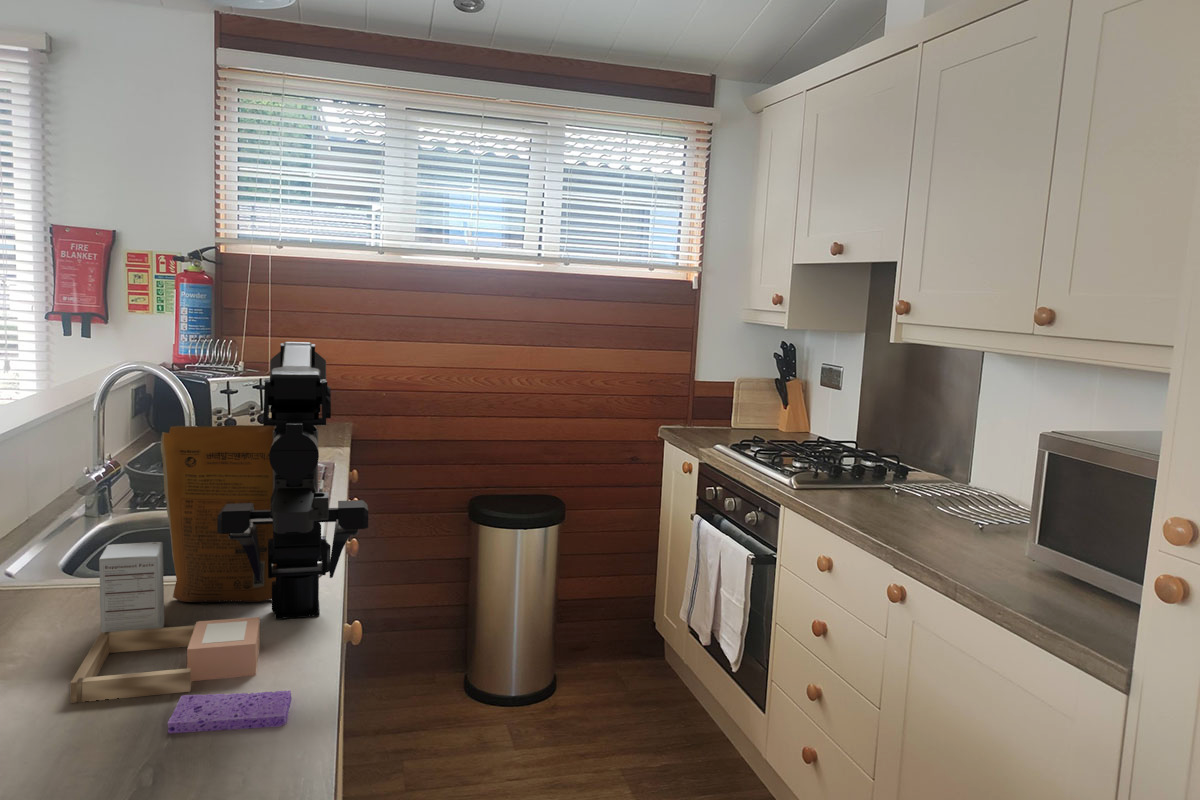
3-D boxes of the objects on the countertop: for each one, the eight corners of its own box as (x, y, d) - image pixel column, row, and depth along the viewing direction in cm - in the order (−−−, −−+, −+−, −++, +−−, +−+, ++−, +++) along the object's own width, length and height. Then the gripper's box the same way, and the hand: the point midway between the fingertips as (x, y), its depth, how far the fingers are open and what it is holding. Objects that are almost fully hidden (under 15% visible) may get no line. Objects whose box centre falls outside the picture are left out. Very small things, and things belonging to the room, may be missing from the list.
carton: (259, 647, 121) (259, 616, 121) (255, 677, 112) (255, 643, 111) (197, 653, 119) (196, 621, 118) (187, 683, 109) (187, 648, 109)
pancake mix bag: (280, 604, 136) (286, 426, 136) (153, 604, 134) (158, 423, 134) (291, 595, 142) (296, 425, 143) (170, 595, 140) (175, 422, 141)
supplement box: (108, 628, 125) (107, 543, 124) (165, 624, 128) (164, 540, 127) (99, 648, 118) (97, 558, 117) (159, 642, 121) (158, 554, 120)
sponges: (181, 709, 103) (181, 694, 103) (293, 702, 106) (293, 688, 105) (166, 738, 96) (166, 722, 96) (285, 730, 99) (285, 714, 99)
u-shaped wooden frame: (204, 641, 122) (203, 624, 122) (190, 691, 106) (189, 672, 106) (100, 650, 118) (100, 632, 117) (70, 703, 102) (70, 682, 102)
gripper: (210, 478, 105) (211, 603, 106) (370, 475, 110) (369, 594, 112) (222, 461, 115) (223, 575, 117) (367, 459, 121) (366, 568, 122)
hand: (295, 578), depth 117 cm, fingers open, 9 cm apart
